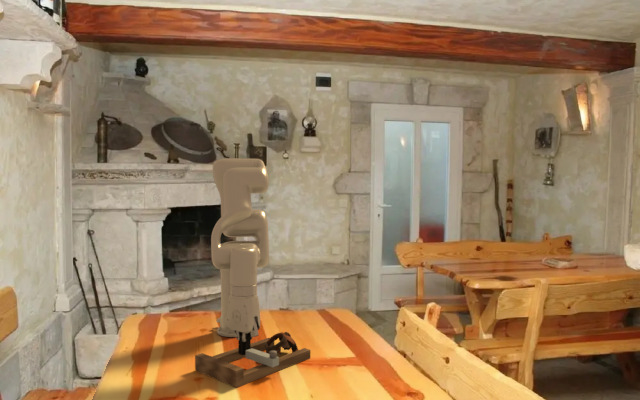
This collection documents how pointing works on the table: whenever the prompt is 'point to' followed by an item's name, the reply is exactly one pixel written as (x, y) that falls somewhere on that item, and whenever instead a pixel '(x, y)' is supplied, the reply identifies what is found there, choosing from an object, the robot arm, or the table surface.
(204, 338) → the table surface
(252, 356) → the gray rectangular bar
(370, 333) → the table surface
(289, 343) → the pottery mug
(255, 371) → the frame
